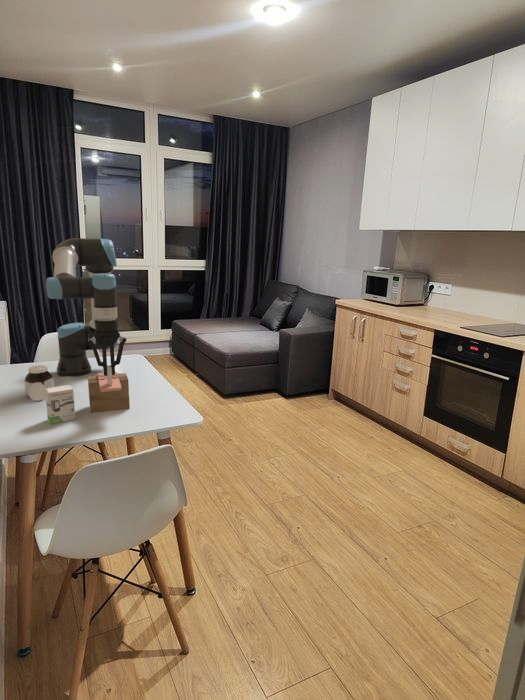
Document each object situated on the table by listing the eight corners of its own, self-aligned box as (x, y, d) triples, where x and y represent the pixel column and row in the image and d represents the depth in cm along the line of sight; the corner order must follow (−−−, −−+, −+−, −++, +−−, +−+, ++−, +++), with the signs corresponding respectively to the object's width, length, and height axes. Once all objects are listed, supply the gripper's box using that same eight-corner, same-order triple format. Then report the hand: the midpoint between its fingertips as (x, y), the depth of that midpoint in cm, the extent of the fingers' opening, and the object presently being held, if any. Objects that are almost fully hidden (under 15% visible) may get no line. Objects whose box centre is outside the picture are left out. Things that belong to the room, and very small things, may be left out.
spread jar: (47, 389, 186) (44, 363, 183) (62, 395, 180) (59, 368, 177) (18, 397, 176) (15, 369, 173) (33, 403, 170) (30, 375, 167)
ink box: (50, 424, 153) (47, 392, 150) (47, 419, 156) (44, 388, 154) (76, 419, 157) (73, 388, 154) (73, 414, 161) (70, 384, 158)
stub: (98, 382, 161) (98, 379, 161) (118, 380, 164) (118, 377, 163) (100, 392, 152) (100, 389, 152) (121, 390, 155) (121, 387, 154)
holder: (89, 405, 170) (87, 373, 167) (127, 401, 175) (125, 370, 172) (90, 413, 163) (88, 380, 159) (129, 408, 168) (128, 376, 165)
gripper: (86, 321, 145) (91, 388, 151) (127, 320, 150) (130, 385, 156) (85, 317, 152) (90, 382, 158) (124, 316, 157) (127, 378, 163)
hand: (110, 383), depth 157 cm, fingers closed
